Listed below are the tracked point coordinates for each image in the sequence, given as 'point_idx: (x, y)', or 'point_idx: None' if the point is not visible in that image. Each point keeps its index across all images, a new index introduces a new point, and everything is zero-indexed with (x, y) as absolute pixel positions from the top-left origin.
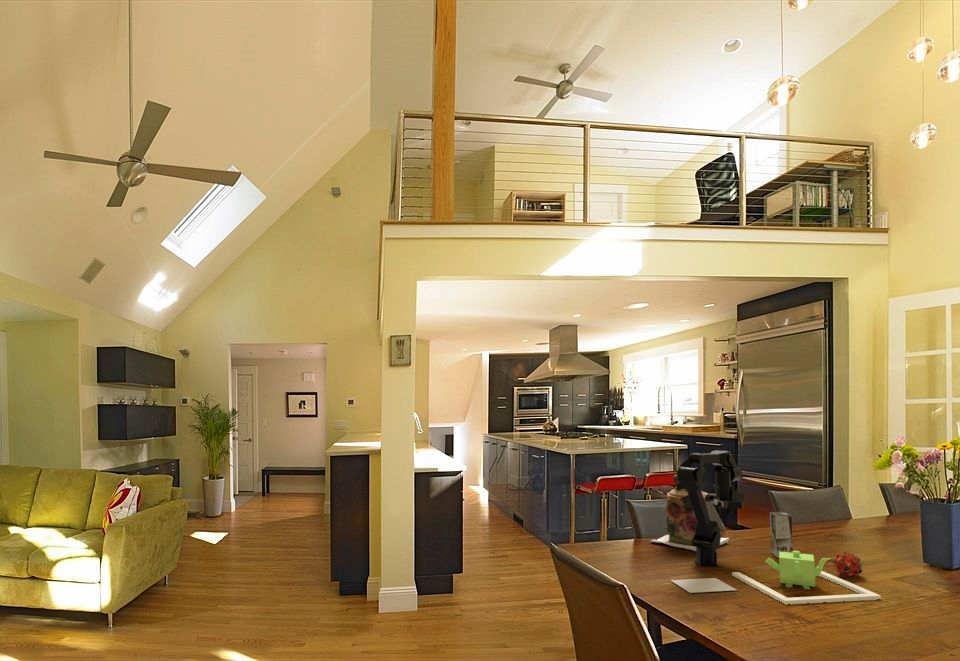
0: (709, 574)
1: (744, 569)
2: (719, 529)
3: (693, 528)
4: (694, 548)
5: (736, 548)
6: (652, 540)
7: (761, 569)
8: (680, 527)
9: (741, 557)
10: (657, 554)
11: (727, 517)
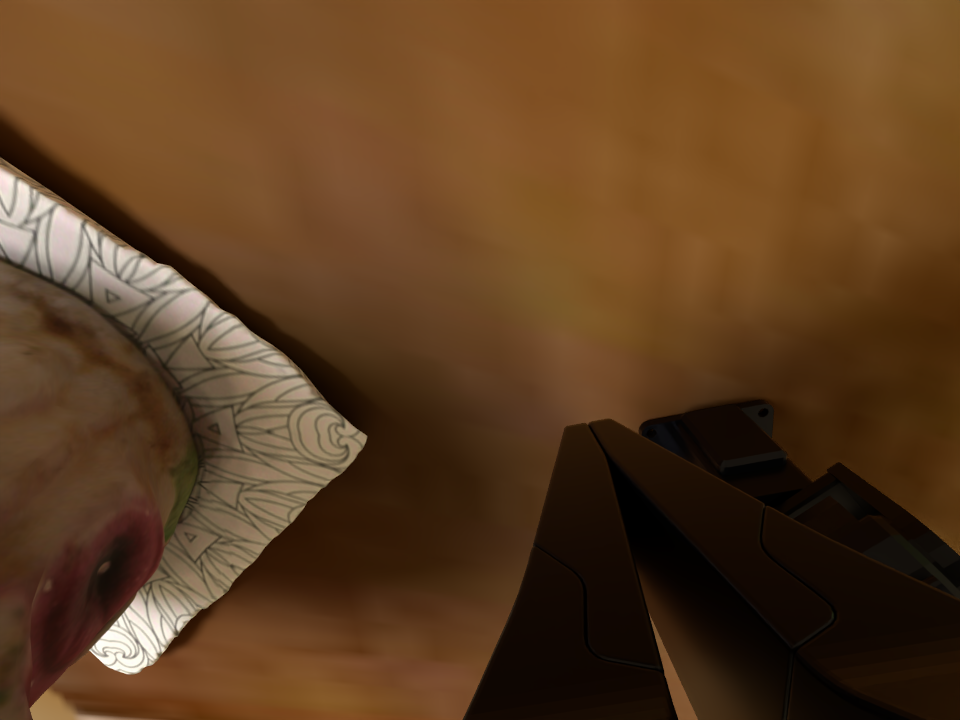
0: (925, 494)
1: (898, 228)
2: (946, 588)
3: (117, 568)
4: (338, 473)
5: (92, 12)
6: (142, 668)
7: (951, 61)
8: (84, 653)
9: (506, 105)
10: (444, 655)
11: (717, 485)
